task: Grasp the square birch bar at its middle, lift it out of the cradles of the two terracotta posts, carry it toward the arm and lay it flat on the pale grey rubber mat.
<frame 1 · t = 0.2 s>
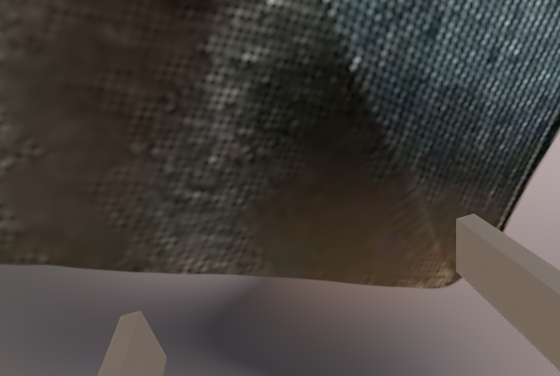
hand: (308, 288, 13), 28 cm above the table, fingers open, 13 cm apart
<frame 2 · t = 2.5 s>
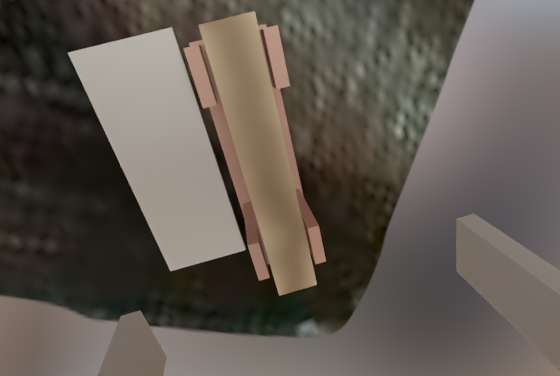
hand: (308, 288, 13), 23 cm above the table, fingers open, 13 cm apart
mat: (171, 165, 33), on the table
rail: (264, 164, 27), point 7 cm above the table, touching stand
stand: (256, 142, 34), on the table
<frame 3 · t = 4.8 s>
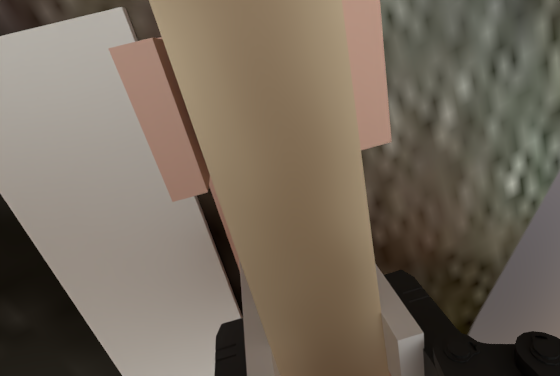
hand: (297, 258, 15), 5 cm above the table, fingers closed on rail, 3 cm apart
mat: (136, 249, 19), on the table
rail: (307, 285, 13), point 7 cm above the table, touching gripper, stand
stand: (280, 209, 20), on the table
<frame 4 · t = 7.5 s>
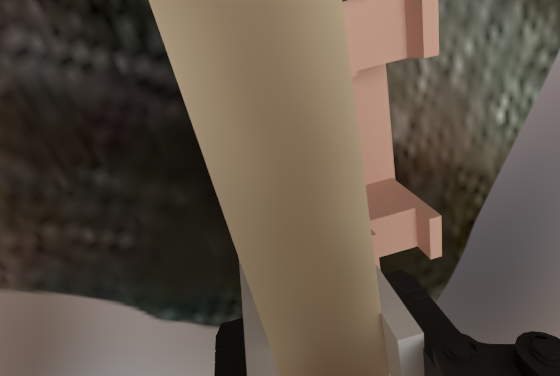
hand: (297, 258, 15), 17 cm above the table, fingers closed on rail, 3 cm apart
rail: (307, 286, 13), point 19 cm above the table, touching gripper
stand: (351, 127, 31), on the table
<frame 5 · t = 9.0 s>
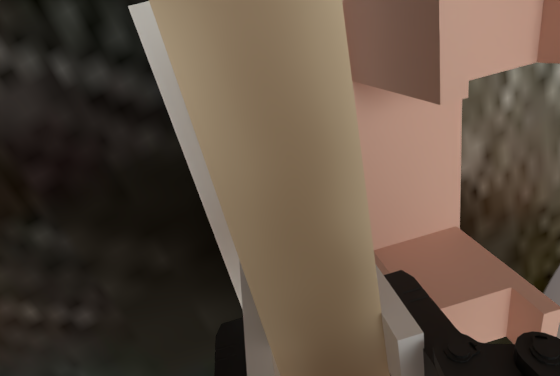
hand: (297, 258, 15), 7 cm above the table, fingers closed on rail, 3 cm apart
mat: (275, 195, 21), on the table
rail: (307, 286, 13), point 9 cm above the table, touching gripper
stand: (404, 159, 22), on the table
when the fingers open (2 cm above the table, at t = 10.3 s): rail drops 3 cm, resting on mat.
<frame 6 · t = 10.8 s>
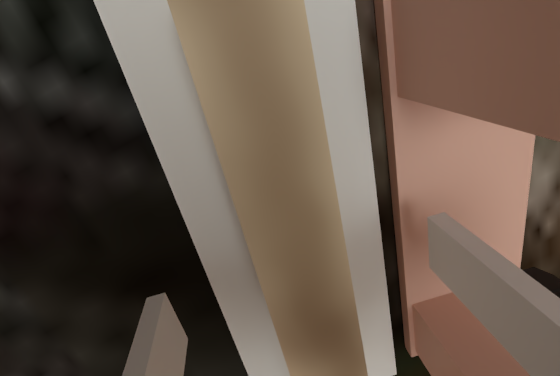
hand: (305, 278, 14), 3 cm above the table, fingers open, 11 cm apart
mat: (291, 239, 17), on the table
rail: (293, 246, 16), point 1 cm above the table, touching mat
stand: (455, 193, 17), on the table
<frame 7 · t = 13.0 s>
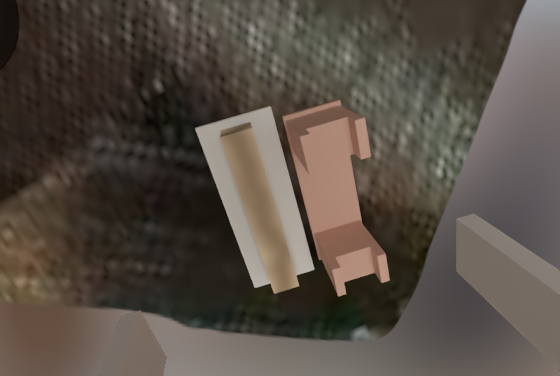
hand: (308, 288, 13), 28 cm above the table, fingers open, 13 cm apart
mat: (261, 205, 42), on the table
rail: (261, 207, 42), point 1 cm above the table, touching mat
stand: (327, 185, 43), on the table
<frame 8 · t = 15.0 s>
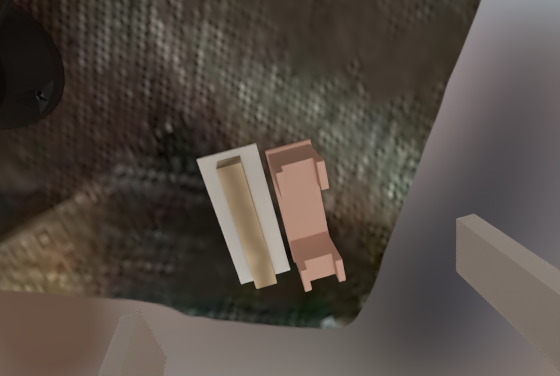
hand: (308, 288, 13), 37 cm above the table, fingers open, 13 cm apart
mat: (247, 218, 53), on the table
rail: (247, 220, 52), point 1 cm above the table, touching mat
stand: (300, 203, 53), on the table
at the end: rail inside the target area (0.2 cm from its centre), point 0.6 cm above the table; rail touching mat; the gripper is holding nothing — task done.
